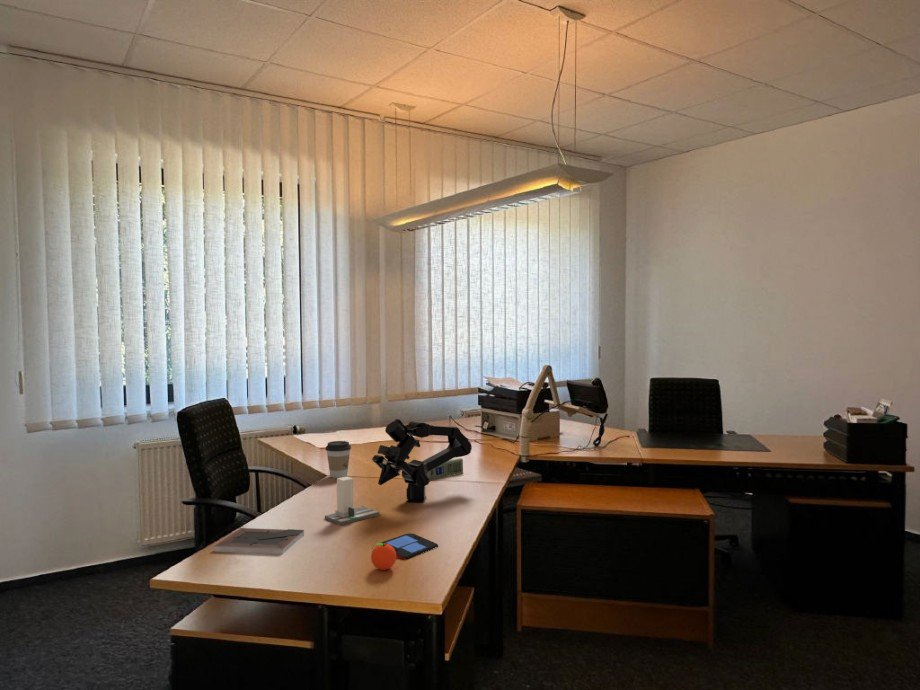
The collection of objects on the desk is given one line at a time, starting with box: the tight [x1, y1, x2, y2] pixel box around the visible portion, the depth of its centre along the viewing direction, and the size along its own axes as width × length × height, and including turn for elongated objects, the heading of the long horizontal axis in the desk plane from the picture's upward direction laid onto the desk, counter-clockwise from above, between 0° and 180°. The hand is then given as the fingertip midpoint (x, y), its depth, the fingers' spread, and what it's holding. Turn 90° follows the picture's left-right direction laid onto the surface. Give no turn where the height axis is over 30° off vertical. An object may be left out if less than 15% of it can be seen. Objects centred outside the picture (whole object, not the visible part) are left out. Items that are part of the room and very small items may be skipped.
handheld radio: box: [426, 457, 464, 481], centre depth 273 cm, size 7×3×25 cm
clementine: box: [370, 542, 397, 571], centre depth 172 cm, size 8×7×7 cm
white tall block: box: [335, 476, 356, 518], centre depth 215 cm, size 5×7×13 cm
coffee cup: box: [324, 440, 352, 479], centre depth 275 cm, size 11×11×15 cm
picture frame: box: [213, 527, 305, 555], centre depth 193 cm, size 16×2×22 cm
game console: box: [380, 532, 439, 560], centre depth 187 cm, size 14×13×2 cm
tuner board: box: [324, 505, 380, 526], centre depth 218 cm, size 16×10×1 cm, turn 133°
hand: (379, 484), depth 225 cm, fingers closed
